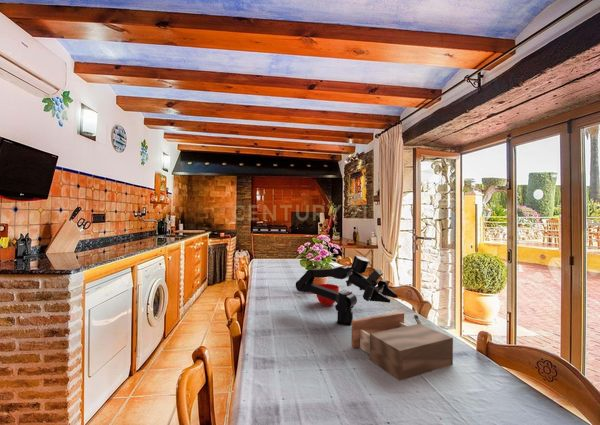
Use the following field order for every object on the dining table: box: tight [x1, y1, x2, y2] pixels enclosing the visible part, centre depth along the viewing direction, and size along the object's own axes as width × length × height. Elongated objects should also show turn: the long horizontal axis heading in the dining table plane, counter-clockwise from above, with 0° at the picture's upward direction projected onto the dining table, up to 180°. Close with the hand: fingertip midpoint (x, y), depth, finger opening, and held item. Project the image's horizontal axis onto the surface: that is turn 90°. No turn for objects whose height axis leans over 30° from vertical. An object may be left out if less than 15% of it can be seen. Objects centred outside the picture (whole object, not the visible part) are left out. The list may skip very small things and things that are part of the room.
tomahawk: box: [413, 314, 422, 324], centre depth 134 cm, size 21×7×1 cm, turn 165°
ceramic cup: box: [316, 283, 340, 307], centre depth 161 cm, size 13×17×10 cm
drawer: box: [351, 311, 409, 356], centre depth 107 cm, size 14×25×10 cm, turn 115°
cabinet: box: [369, 323, 454, 381], centre depth 98 cm, size 14×24×9 cm, turn 115°
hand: (393, 299), depth 121 cm, fingers open, 9 cm apart
